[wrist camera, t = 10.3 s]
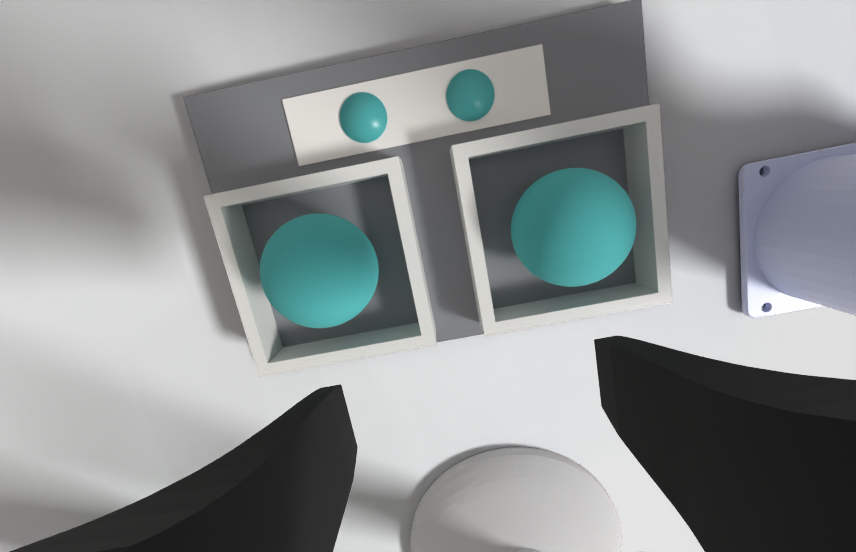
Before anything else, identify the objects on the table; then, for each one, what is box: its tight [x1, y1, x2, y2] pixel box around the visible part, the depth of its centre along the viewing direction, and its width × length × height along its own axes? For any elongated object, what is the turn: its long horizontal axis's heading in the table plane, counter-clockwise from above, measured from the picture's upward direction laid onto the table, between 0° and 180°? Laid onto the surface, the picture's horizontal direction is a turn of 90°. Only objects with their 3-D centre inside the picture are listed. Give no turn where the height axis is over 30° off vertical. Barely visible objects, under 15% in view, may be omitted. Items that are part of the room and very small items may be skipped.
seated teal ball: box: [511, 168, 637, 287], centre depth 17 cm, size 5×5×5 cm
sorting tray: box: [183, 0, 673, 377], centre depth 19 cm, size 21×14×3 cm, turn 101°
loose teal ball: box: [260, 213, 379, 328], centre depth 17 cm, size 5×5×5 cm
